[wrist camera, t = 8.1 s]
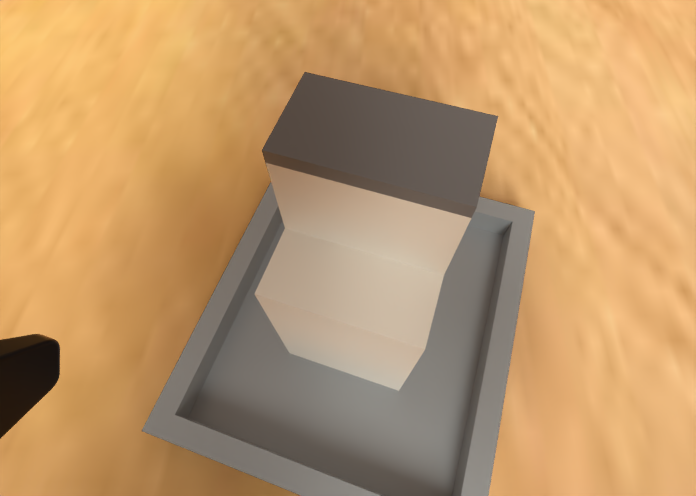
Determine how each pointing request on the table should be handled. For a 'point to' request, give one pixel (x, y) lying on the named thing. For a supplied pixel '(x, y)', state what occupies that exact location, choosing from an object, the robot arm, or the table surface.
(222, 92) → the table surface
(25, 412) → the robot arm
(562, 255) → the table surface
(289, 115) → the grey-topped stepped block
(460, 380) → the tray
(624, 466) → the table surface
